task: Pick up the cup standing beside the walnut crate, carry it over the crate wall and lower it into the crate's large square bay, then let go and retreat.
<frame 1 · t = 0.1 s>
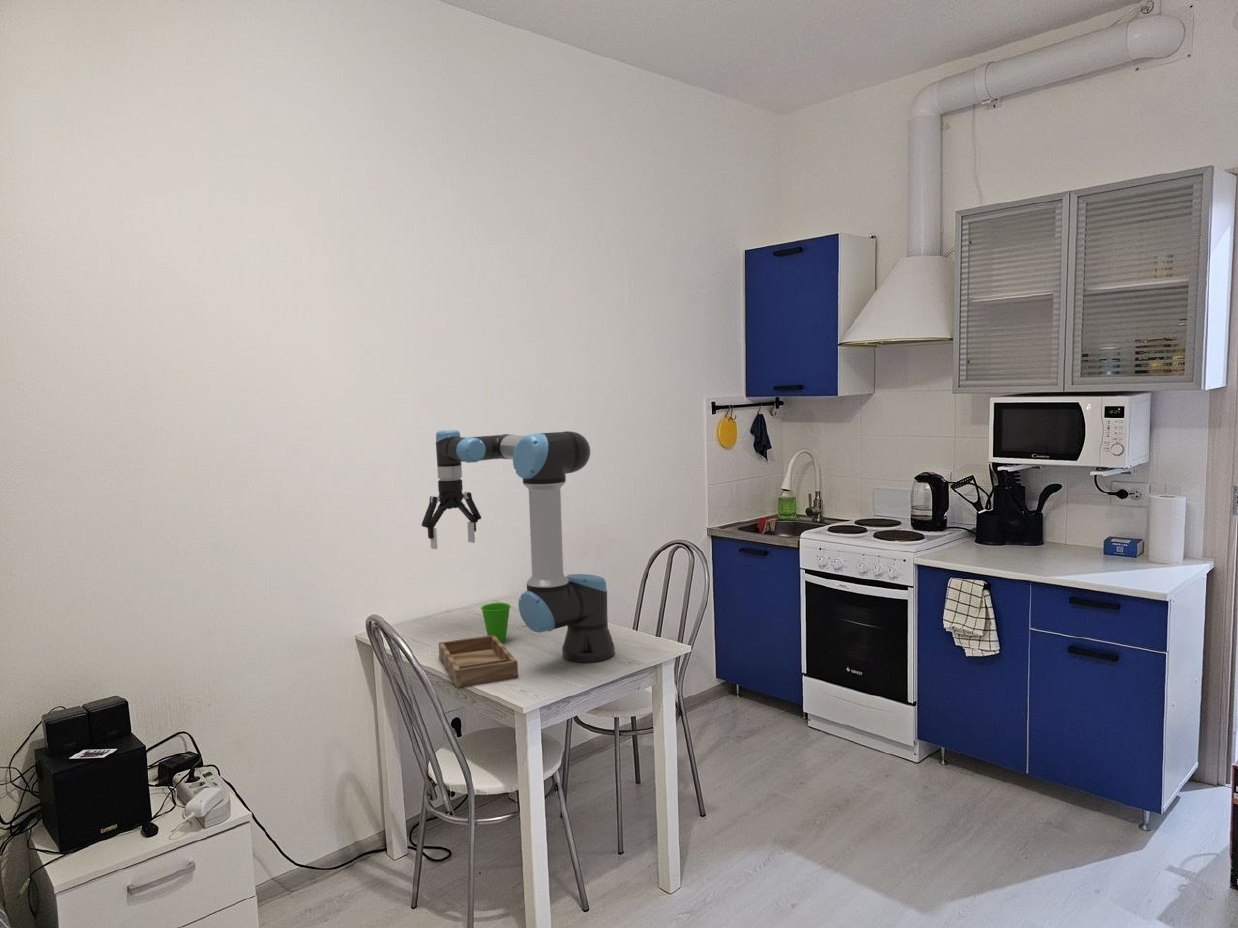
hand: (453, 545, 259), 28 cm above the table, fingers open, 13 cm apart
cup: (497, 642, 250), on the table
crate: (474, 663, 230), on the table
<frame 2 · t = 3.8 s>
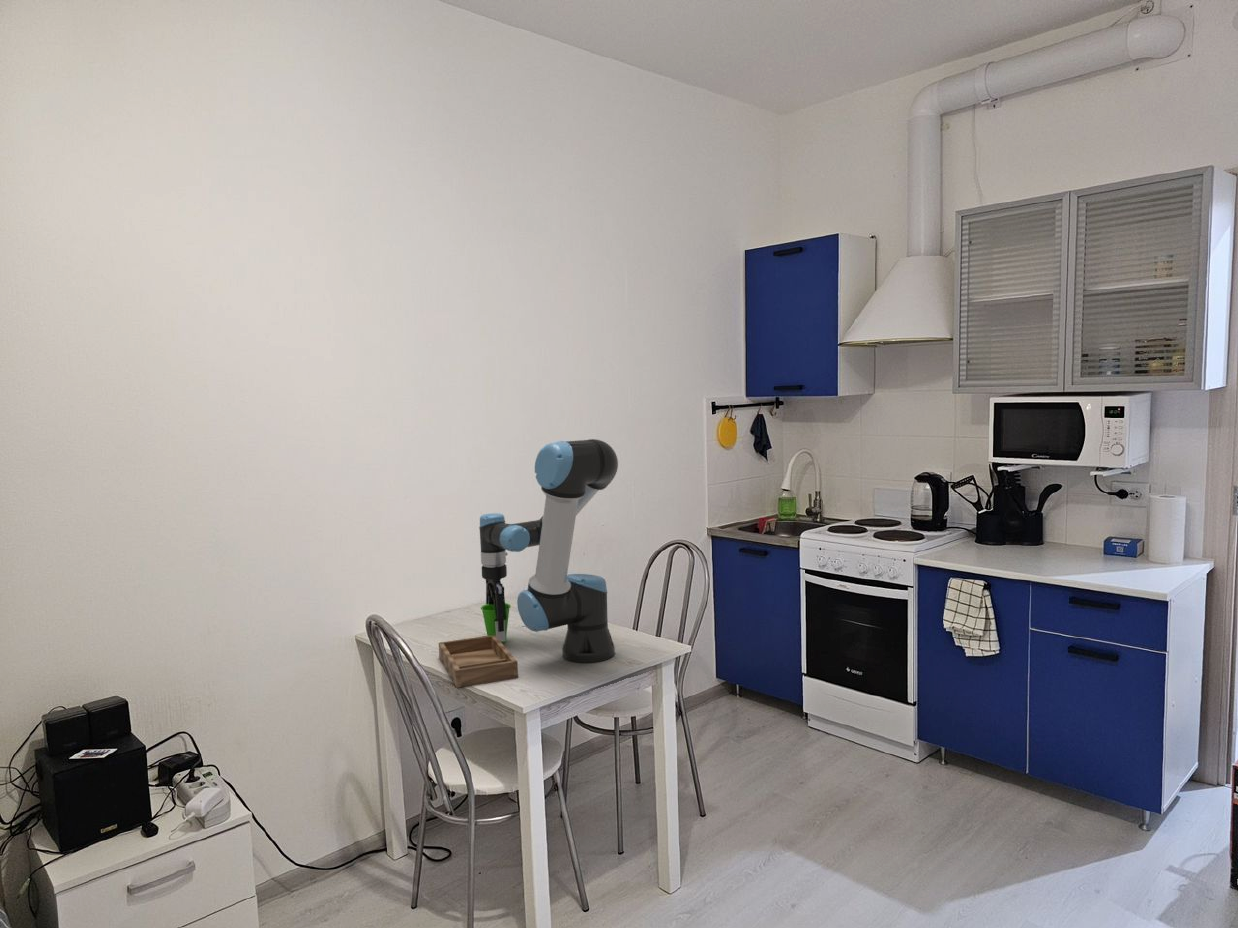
hand: (497, 636, 250), 1 cm above the table, fingers closed on cup, 9 cm apart
cup: (497, 642, 250), on the table, touching gripper
when the fingers open (5 cm above the table, at t = 9.8 s): cup drops 3 cm, resting on crate.
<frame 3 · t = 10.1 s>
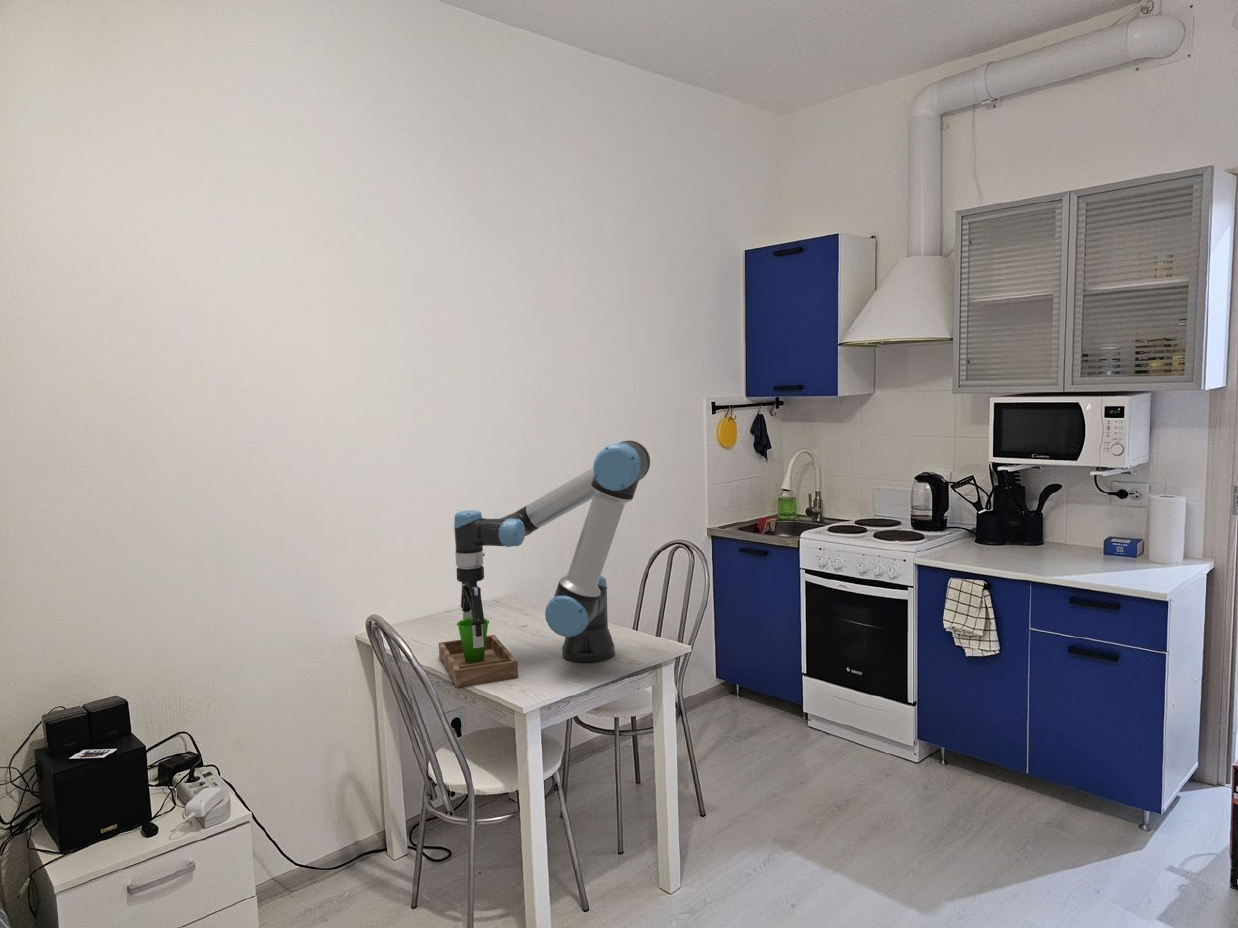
hand: (473, 640, 229), 7 cm above the table, fingers open, 13 cm apart
cup: (474, 661, 230), point 1 cm above the table, touching crate
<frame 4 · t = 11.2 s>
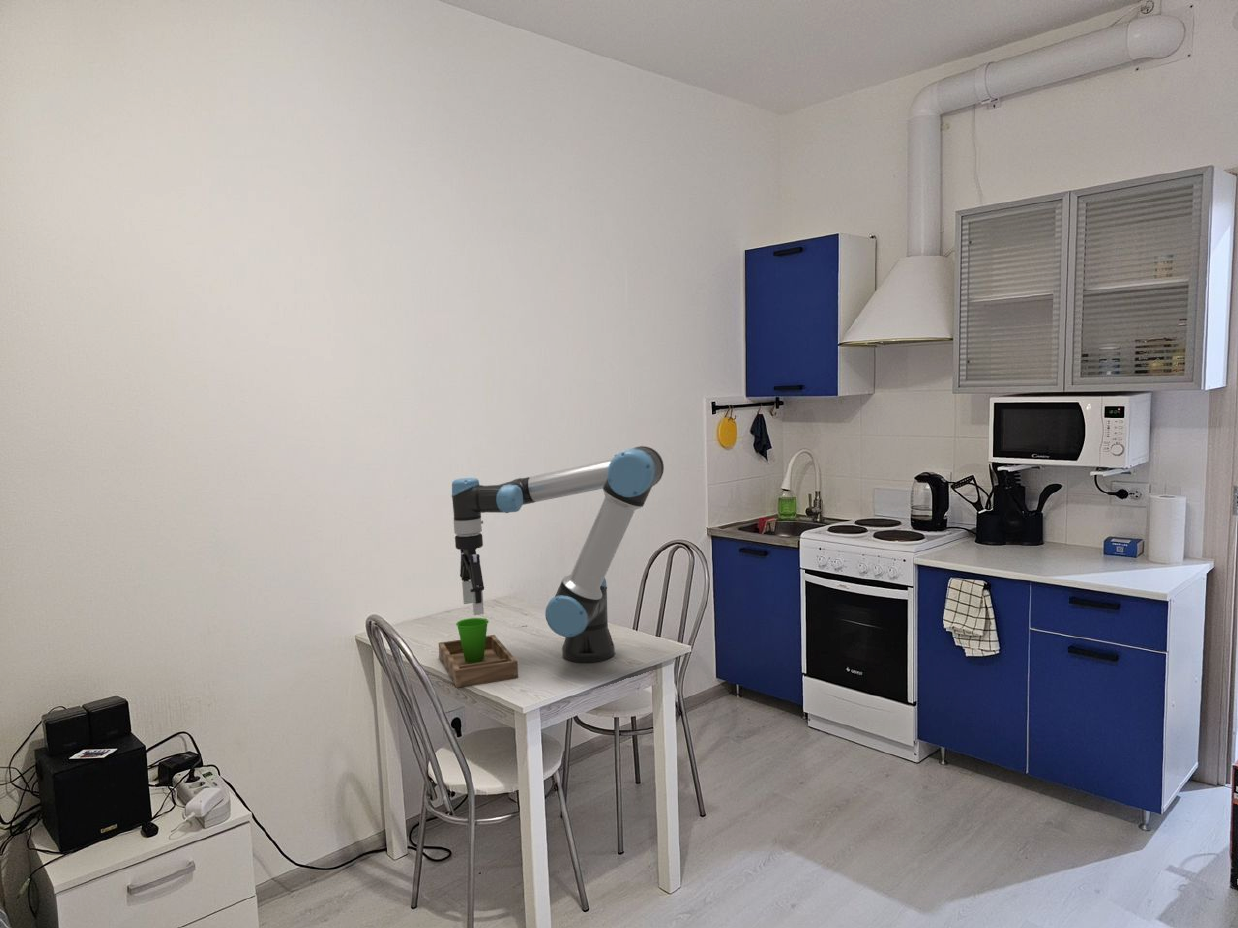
hand: (473, 608, 229), 16 cm above the table, fingers open, 13 cm apart
nothing on the table moved.
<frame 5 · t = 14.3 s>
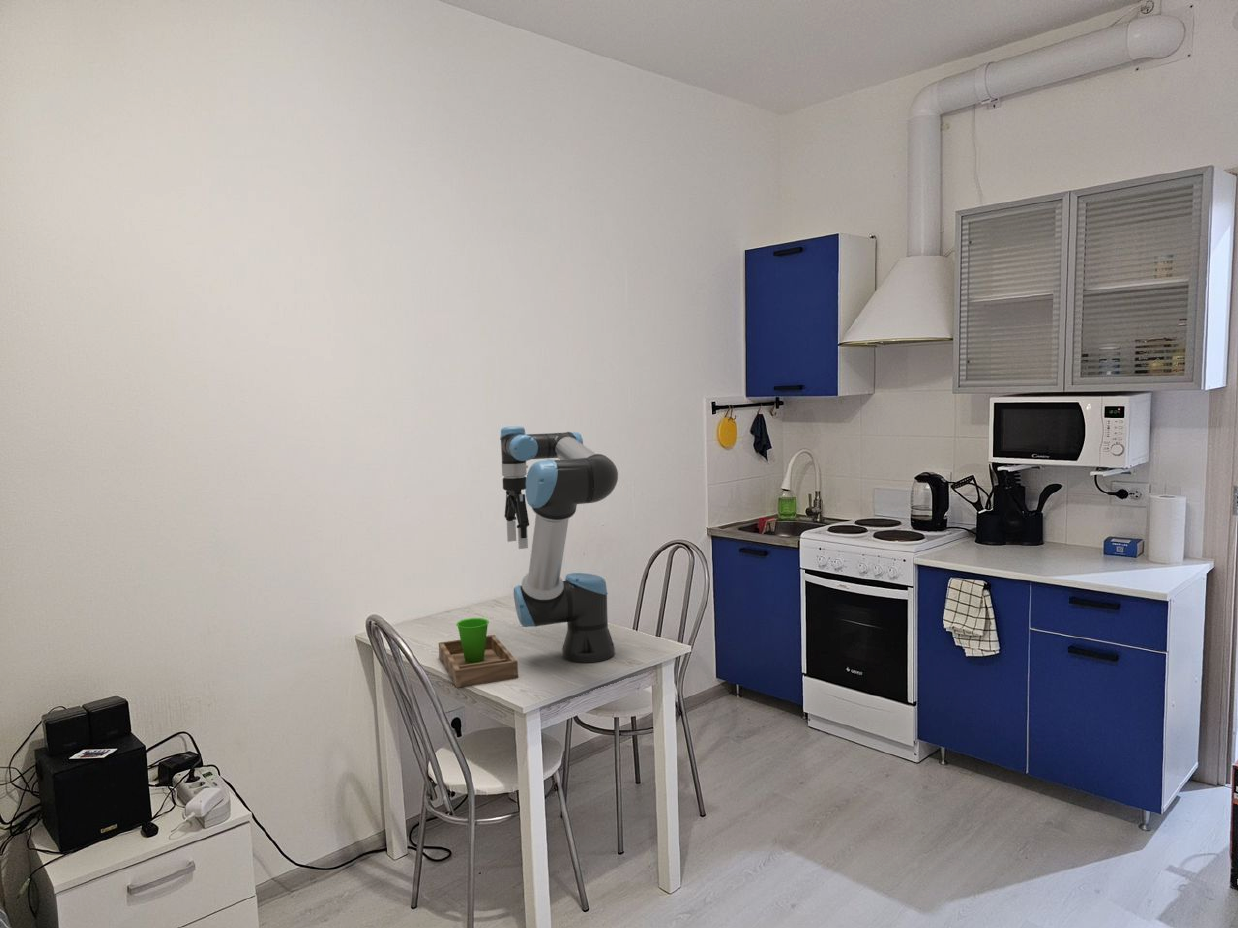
hand: (517, 544, 253), 29 cm above the table, fingers open, 13 cm apart
nothing on the table moved.
at the end: cup 0.3 cm from the crate (horizontally); cup touching crate; cup tilted 0° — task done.
